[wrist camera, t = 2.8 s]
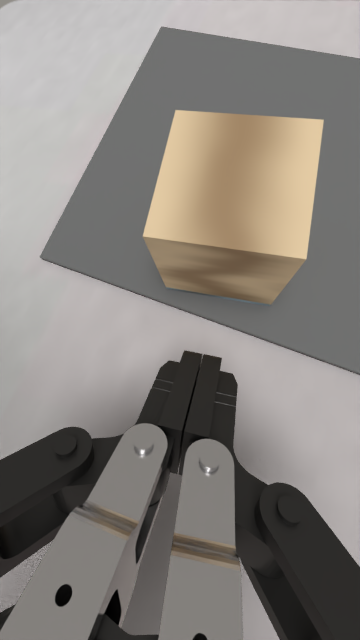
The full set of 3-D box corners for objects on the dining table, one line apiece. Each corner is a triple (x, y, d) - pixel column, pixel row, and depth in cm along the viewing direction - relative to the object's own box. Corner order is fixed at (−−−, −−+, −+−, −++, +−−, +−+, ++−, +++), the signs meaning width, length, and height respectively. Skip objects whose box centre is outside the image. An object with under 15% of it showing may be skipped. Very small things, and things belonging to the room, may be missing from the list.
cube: (166, 289, 19) (142, 236, 12) (187, 201, 20) (175, 109, 13) (269, 306, 18) (306, 259, 11) (283, 212, 19) (323, 119, 12)
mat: (42, 259, 21) (39, 257, 20) (162, 32, 25) (161, 26, 25) (403, 390, 16) (408, 390, 16) (477, 84, 20) (482, 78, 20)
